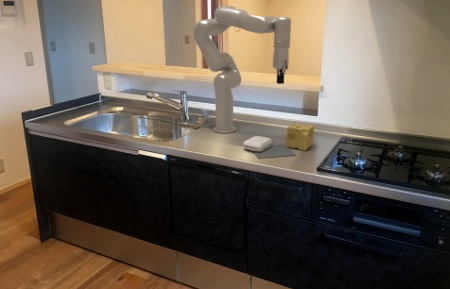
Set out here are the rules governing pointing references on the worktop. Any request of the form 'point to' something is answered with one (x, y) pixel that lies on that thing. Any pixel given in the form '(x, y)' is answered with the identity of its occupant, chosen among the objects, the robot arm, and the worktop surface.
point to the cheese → (299, 136)
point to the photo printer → (258, 143)
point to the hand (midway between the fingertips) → (280, 83)
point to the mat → (275, 152)
